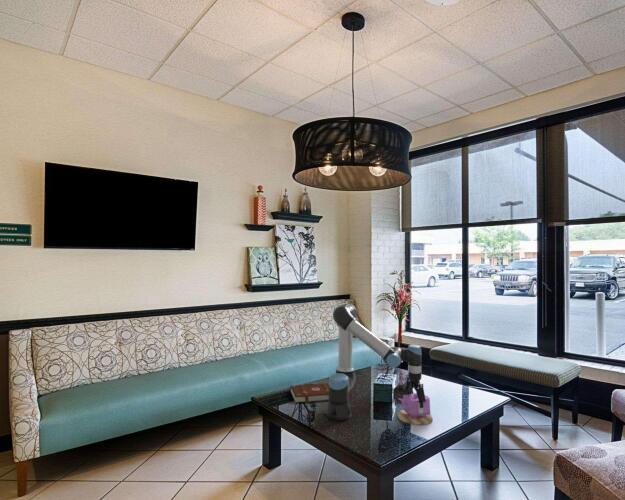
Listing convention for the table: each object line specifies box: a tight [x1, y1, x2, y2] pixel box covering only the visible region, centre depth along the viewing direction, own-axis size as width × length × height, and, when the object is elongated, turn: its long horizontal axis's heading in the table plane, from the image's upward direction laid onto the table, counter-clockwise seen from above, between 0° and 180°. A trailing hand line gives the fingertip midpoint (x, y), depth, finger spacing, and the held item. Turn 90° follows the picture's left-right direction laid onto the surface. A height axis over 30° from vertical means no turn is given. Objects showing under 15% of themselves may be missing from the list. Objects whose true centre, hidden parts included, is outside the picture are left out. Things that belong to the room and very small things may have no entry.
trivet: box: [397, 409, 433, 426], centre depth 225 cm, size 20×20×1 cm
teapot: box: [398, 392, 431, 419], centre depth 225 cm, size 20×10×12 cm, turn 102°
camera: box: [392, 382, 414, 400], centre depth 256 cm, size 13×10×10 cm
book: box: [289, 382, 329, 404], centre depth 262 cm, size 23×32×5 cm
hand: (414, 409), depth 225 cm, fingers open, 11 cm apart
